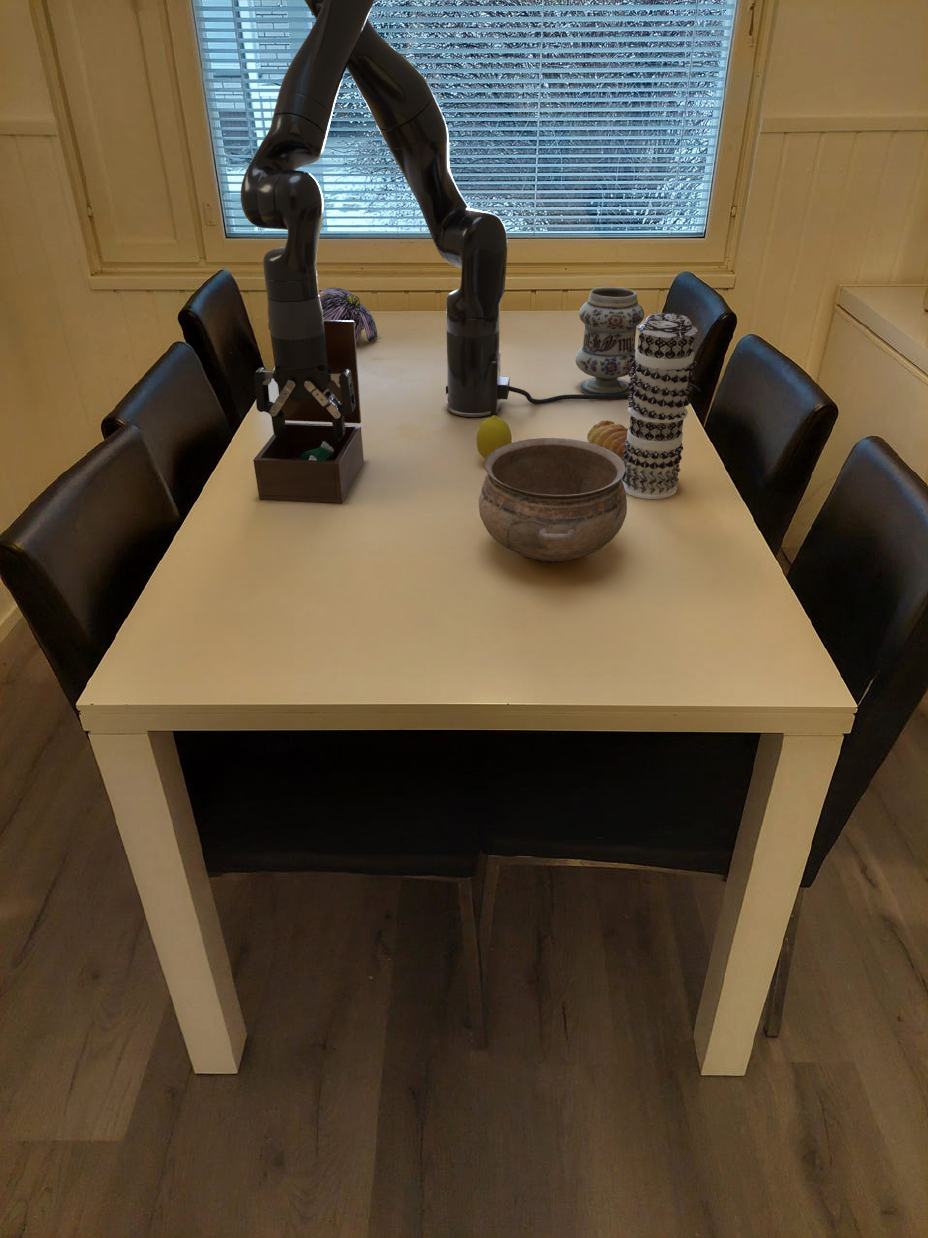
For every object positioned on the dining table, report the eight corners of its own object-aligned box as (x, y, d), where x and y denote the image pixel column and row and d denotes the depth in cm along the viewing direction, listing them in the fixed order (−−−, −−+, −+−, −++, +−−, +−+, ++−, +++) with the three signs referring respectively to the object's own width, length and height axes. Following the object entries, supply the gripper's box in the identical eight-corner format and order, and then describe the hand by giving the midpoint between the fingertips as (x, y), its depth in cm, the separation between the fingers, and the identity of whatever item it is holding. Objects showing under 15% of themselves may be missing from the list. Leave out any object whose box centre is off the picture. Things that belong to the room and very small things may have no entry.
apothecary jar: (635, 379, 173) (644, 283, 163) (639, 400, 163) (649, 300, 153) (573, 377, 174) (579, 282, 164) (573, 398, 164) (580, 299, 154)
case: (342, 503, 129) (338, 463, 125) (259, 499, 130) (253, 459, 126) (363, 462, 141) (361, 425, 137) (287, 459, 142) (282, 422, 138)
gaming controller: (297, 497, 132) (321, 474, 129) (278, 479, 131) (302, 455, 128) (318, 472, 140) (342, 450, 137) (300, 455, 139) (324, 432, 136)
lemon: (515, 459, 141) (516, 411, 137) (505, 473, 137) (506, 424, 133) (482, 455, 143) (482, 407, 138) (471, 468, 139) (471, 419, 134)
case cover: (353, 321, 129) (360, 314, 132) (269, 319, 130) (279, 312, 134) (360, 423, 137) (366, 413, 141) (281, 420, 138) (290, 410, 142)
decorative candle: (666, 505, 127) (690, 330, 113) (607, 491, 131) (623, 320, 117) (688, 482, 134) (713, 314, 120) (632, 469, 138) (649, 305, 124)
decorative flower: (348, 306, 182) (306, 273, 189) (330, 358, 188) (290, 324, 195) (397, 312, 193) (356, 281, 200) (379, 361, 199) (340, 329, 206)
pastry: (648, 457, 142) (651, 434, 139) (613, 465, 139) (615, 442, 137) (615, 437, 149) (617, 415, 146) (581, 444, 146) (583, 422, 144)
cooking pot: (482, 506, 127) (482, 426, 121) (613, 509, 127) (621, 428, 120) (474, 599, 107) (474, 508, 100) (631, 603, 106) (641, 511, 99)
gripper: (353, 322, 125) (362, 430, 134) (256, 320, 126) (271, 427, 135) (341, 338, 119) (351, 450, 128) (239, 335, 120) (256, 447, 129)
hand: (310, 438), depth 132 cm, fingers open, 8 cm apart
